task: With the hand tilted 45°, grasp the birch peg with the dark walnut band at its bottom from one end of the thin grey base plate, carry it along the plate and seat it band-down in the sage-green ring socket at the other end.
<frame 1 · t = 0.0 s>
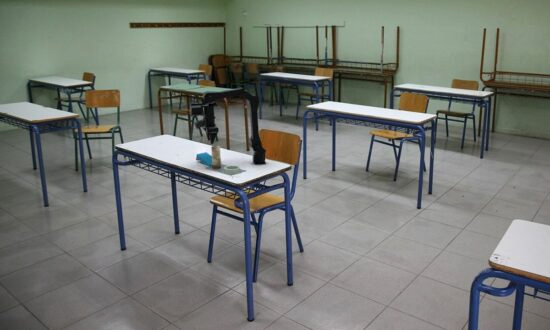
hand: (210, 142, 266), 15 cm above the table, tool pointing down, fingers open, 9 cm apart
thin grey base plate: (225, 171, 261), on the table
birch peg: (216, 167, 264), point 1 cm above the table, touching thin grey base plate
blue long block: (206, 165, 277), on the table
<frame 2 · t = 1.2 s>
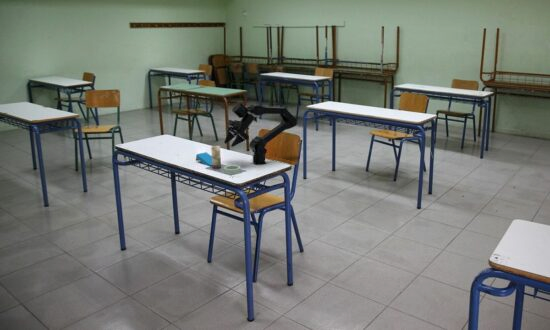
hand: (228, 144, 265), 13 cm above the table, tool tilted 45°, fingers open, 9 cm apart
nothing on the table moved.
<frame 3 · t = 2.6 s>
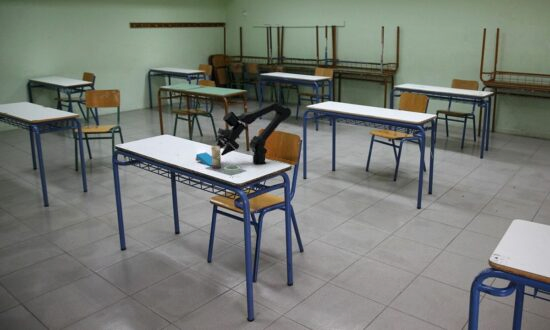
hand: (218, 153, 263), 9 cm above the table, tool tilted 45°, fingers open, 9 cm apart
nothing on the table moved.
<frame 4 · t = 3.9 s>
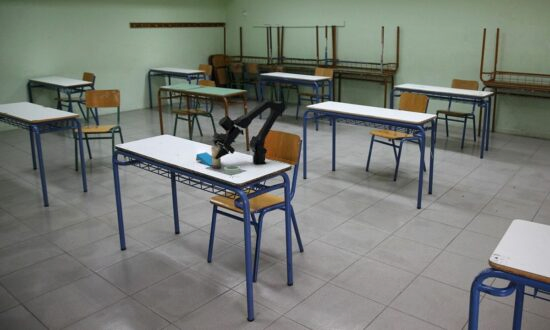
hand: (213, 157, 262), 7 cm above the table, tool tilted 45°, fingers closed on birch peg, 5 cm apart
birch peg: (216, 167, 264), point 1 cm above the table, touching gripper, thin grey base plate
everything else where it was.
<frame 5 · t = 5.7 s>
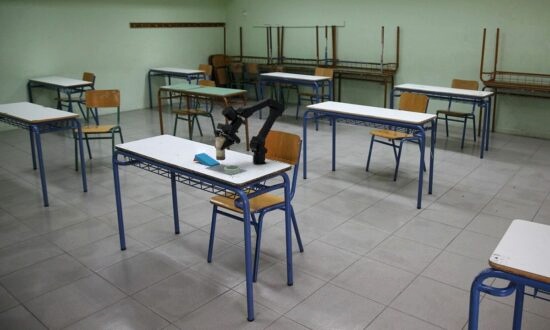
hand: (218, 149, 257), 13 cm above the table, tool tilted 45°, fingers closed on birch peg, 5 cm apart
birch peg: (220, 159, 259), point 7 cm above the table, touching gripper
blue long block: (204, 165, 275), on the table
when the fingers open (8 cm above the table, at t = 7.8 s): birch peg drops 1 cm, resting on thin grey base plate.
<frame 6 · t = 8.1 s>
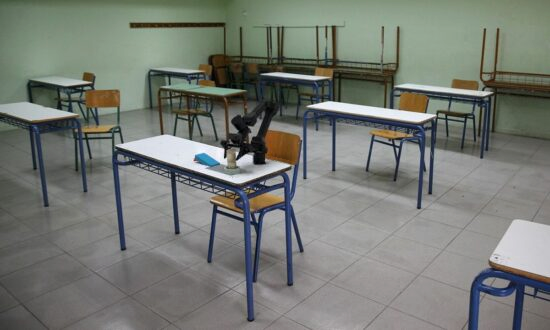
hand: (230, 159, 253), 9 cm above the table, tool tilted 45°, fingers open, 8 cm apart
birch peg: (232, 171, 256), point 1 cm above the table, touching thin grey base plate
everything else where it was.
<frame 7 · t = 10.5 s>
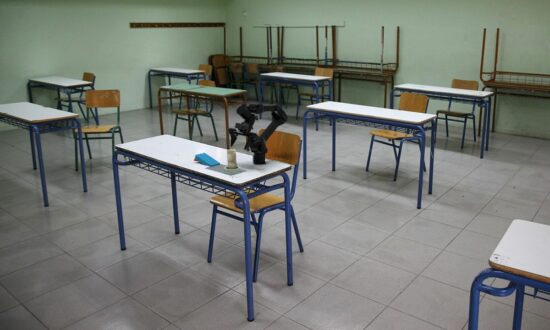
hand: (237, 148, 260), 13 cm above the table, tool tilted 40°, fingers open, 9 cm apart
nothing on the table moved.
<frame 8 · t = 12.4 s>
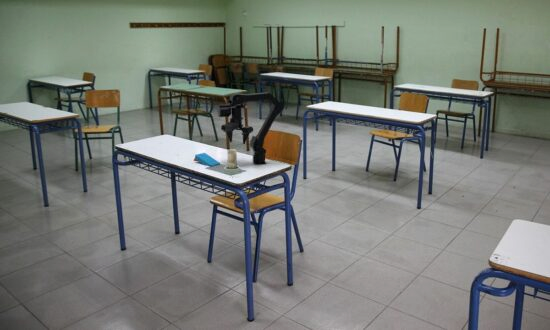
hand: (237, 143, 270), 13 cm above the table, tool pointing down, fingers open, 9 cm apart
nothing on the table moved.
at the end: birch peg 0.1 cm from the target spot, point 1.3 cm above the table; birch peg tilted 1°; the gripper is holding nothing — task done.
